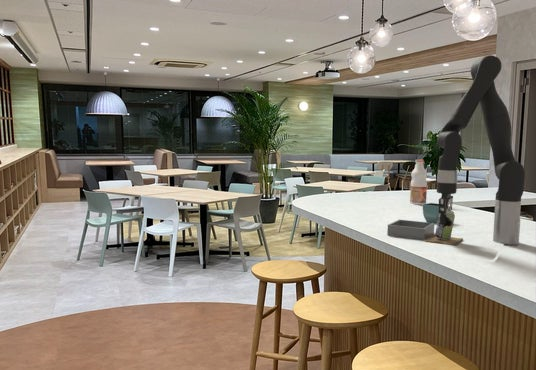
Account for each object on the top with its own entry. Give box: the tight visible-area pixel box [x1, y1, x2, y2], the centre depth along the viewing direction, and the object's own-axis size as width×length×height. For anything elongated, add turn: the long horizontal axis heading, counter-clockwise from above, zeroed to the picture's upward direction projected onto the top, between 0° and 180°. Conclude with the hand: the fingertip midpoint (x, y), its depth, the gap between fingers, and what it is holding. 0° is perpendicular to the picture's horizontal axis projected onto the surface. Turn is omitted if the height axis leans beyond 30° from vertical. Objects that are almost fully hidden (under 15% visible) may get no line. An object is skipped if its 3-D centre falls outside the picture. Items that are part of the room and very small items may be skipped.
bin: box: [386, 219, 435, 241], centre depth 206 cm, size 16×16×4 cm
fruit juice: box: [409, 159, 428, 206], centre depth 288 cm, size 9×9×28 cm
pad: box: [424, 234, 464, 246], centre depth 194 cm, size 12×12×1 cm
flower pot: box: [421, 202, 444, 224], centre depth 234 cm, size 9×9×9 cm
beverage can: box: [434, 210, 456, 240], centre depth 193 cm, size 6×7×12 cm
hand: (444, 222), depth 193 cm, fingers closed on beverage can, 6 cm apart
